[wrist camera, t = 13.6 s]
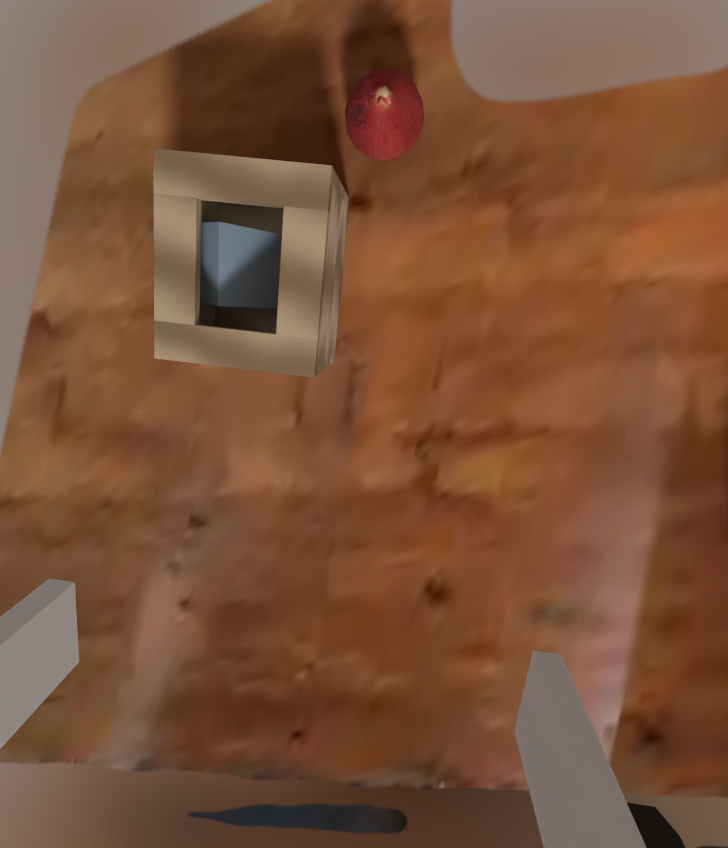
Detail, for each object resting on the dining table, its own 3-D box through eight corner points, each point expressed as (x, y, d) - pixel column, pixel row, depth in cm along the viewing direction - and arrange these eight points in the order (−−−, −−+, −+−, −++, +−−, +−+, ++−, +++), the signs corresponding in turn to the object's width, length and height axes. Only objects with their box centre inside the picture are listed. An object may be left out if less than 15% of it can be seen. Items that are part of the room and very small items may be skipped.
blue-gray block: (256, 235, 42) (193, 222, 37) (282, 234, 39) (219, 221, 35) (254, 305, 43) (193, 302, 39) (279, 309, 41) (218, 305, 36)
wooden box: (212, 184, 41) (153, 148, 32) (349, 197, 41) (331, 165, 31) (208, 346, 45) (154, 358, 35) (334, 361, 44) (314, 377, 35)
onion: (355, 176, 40) (343, 147, 33) (347, 99, 39) (332, 50, 31) (424, 166, 40) (429, 134, 32) (418, 88, 38) (421, 34, 31)
